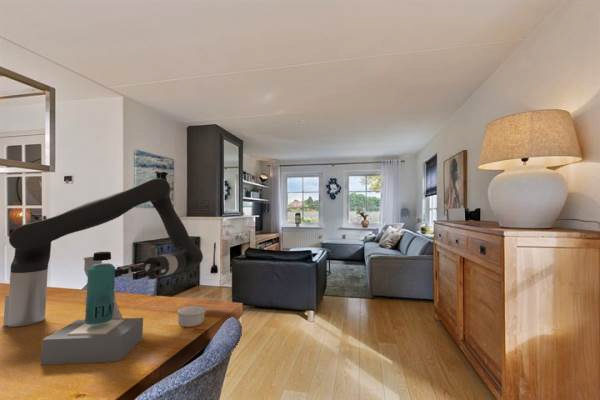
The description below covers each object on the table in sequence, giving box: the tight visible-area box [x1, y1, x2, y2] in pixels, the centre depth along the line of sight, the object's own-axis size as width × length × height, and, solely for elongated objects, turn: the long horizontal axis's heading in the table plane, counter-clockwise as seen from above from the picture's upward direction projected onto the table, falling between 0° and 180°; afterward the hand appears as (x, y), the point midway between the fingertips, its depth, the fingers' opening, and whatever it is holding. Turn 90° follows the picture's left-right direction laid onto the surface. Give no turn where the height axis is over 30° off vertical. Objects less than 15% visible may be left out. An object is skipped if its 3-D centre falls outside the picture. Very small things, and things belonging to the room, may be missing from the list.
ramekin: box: [177, 305, 206, 328], centre depth 96 cm, size 9×9×4 cm
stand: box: [40, 317, 144, 366], centre depth 76 cm, size 18×13×6 cm
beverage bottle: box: [84, 251, 116, 325], centre depth 76 cm, size 6×7×20 cm
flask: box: [112, 289, 123, 319], centre depth 97 cm, size 7×7×10 cm
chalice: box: [83, 256, 103, 303], centre depth 118 cm, size 7×7×18 cm
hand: (122, 275), depth 83 cm, fingers open, 8 cm apart
